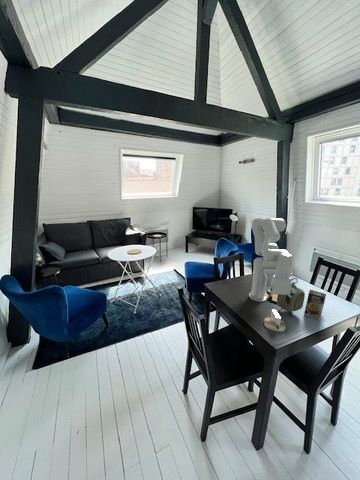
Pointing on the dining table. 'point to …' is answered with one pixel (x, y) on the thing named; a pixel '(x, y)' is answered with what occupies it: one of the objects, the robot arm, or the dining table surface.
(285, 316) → the dining table surface
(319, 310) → the coffee box
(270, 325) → the dial base
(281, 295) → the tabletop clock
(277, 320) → the dial knob
